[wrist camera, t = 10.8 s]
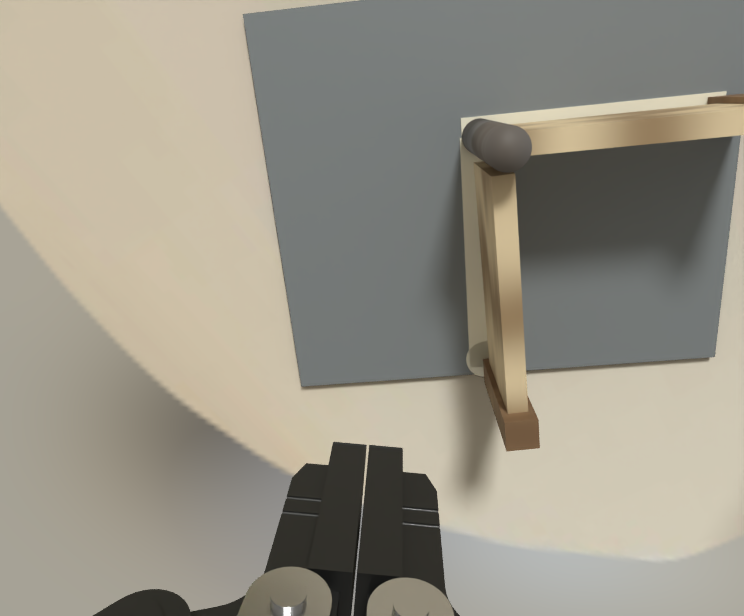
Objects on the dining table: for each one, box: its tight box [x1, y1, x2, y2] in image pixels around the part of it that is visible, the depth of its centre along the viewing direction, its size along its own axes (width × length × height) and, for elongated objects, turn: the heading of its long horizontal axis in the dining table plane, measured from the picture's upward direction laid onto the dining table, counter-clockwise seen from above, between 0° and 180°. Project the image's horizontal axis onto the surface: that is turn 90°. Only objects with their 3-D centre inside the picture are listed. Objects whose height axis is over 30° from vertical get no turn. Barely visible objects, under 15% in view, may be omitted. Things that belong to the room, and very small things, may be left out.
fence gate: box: [474, 161, 540, 451], centre depth 29 cm, size 13×2×7 cm, turn 8°
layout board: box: [243, 0, 744, 386], centre depth 31 cm, size 25×21×1 cm
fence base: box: [462, 94, 744, 173], centre depth 26 cm, size 14×2×8 cm, turn 96°
